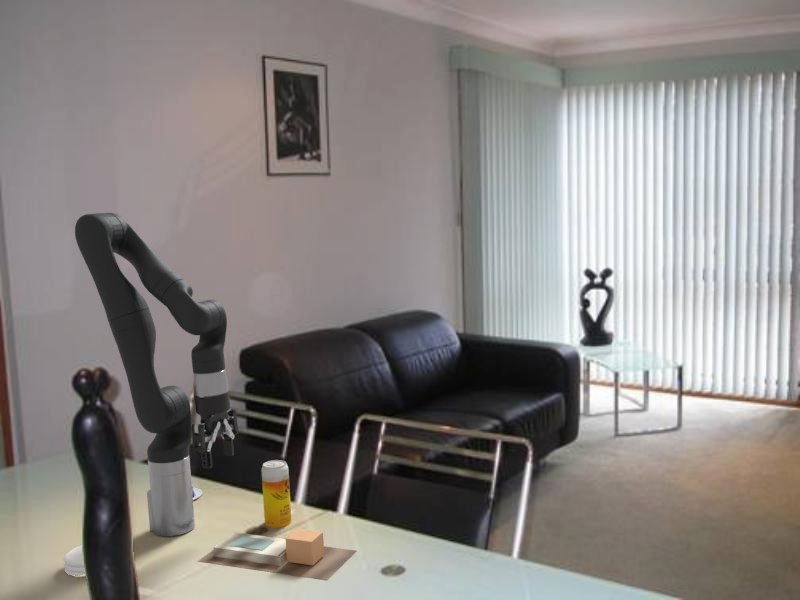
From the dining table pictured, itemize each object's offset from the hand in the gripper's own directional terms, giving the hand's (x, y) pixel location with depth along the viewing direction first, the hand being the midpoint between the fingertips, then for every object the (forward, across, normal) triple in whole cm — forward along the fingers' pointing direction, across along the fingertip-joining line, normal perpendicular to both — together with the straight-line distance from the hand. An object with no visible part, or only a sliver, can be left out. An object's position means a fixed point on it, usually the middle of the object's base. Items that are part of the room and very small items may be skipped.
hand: (218, 461), depth 187 cm
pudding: (+17, -18, -26) cm, 36 cm away
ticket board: (+18, +8, +18) cm, 27 cm away
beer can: (+18, -8, +9) cm, 21 cm away
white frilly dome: (+17, +22, -19) cm, 34 cm away
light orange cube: (+17, +8, +25) cm, 31 cm away
